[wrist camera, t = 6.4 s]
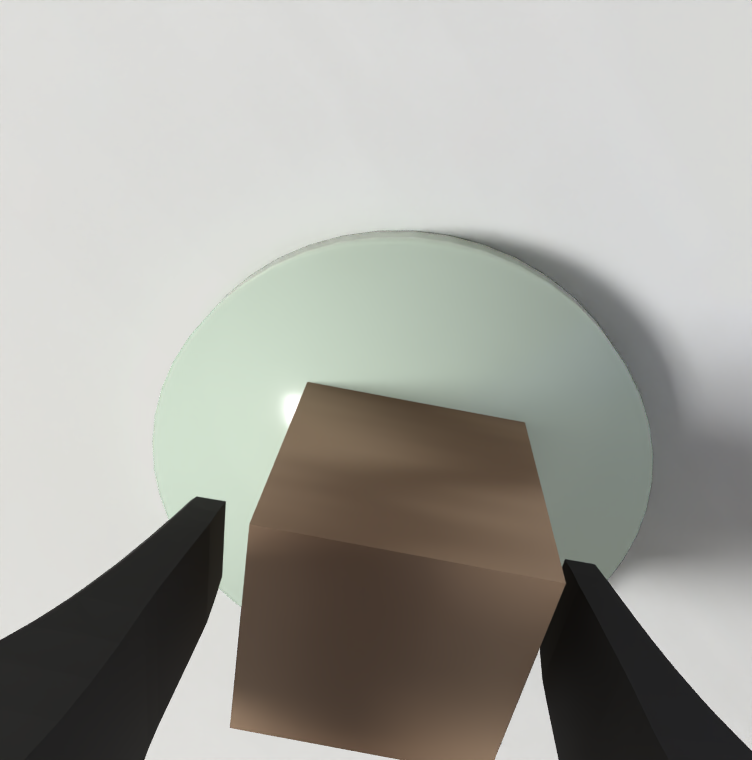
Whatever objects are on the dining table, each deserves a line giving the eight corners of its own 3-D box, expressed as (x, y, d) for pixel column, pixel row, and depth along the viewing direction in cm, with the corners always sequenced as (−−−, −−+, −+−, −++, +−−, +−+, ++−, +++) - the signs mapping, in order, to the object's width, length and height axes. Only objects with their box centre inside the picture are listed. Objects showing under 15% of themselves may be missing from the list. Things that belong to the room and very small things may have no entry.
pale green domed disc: (719, 288, 14) (743, 306, 13) (554, 661, 19) (562, 696, 18) (177, 182, 14) (156, 192, 13) (165, 586, 19) (149, 617, 18)
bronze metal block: (525, 422, 14) (565, 583, 10) (473, 584, 17) (487, 775, 12) (307, 381, 14) (249, 524, 10) (285, 549, 17) (230, 727, 12)
